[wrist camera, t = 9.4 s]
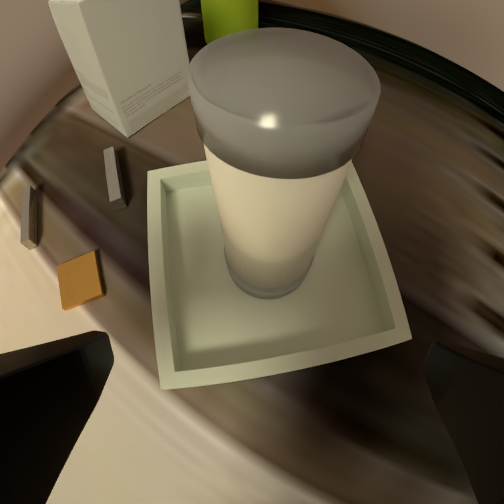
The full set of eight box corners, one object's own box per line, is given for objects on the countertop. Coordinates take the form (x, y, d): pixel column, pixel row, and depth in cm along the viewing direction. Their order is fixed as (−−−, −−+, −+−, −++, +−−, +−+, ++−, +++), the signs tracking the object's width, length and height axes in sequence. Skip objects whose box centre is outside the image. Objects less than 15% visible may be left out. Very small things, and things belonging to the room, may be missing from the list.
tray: (395, 344, 16) (412, 338, 14) (172, 388, 15) (161, 389, 13) (337, 164, 21) (344, 145, 19) (156, 190, 20) (147, 171, 18)
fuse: (300, 307, 16) (384, 153, 5) (216, 288, 17) (153, 112, 6) (315, 232, 18) (375, 46, 7) (238, 215, 18) (222, 22, 7)
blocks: (144, 281, 17) (137, 274, 16) (35, 321, 16) (25, 317, 15) (118, 156, 21) (113, 146, 20) (30, 197, 20) (22, 189, 19)
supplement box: (197, 93, 24) (178, -39, 13) (127, 141, 22) (73, 3, 10) (152, 69, 26) (127, -38, 15) (90, 109, 24) (44, 0, 12)
